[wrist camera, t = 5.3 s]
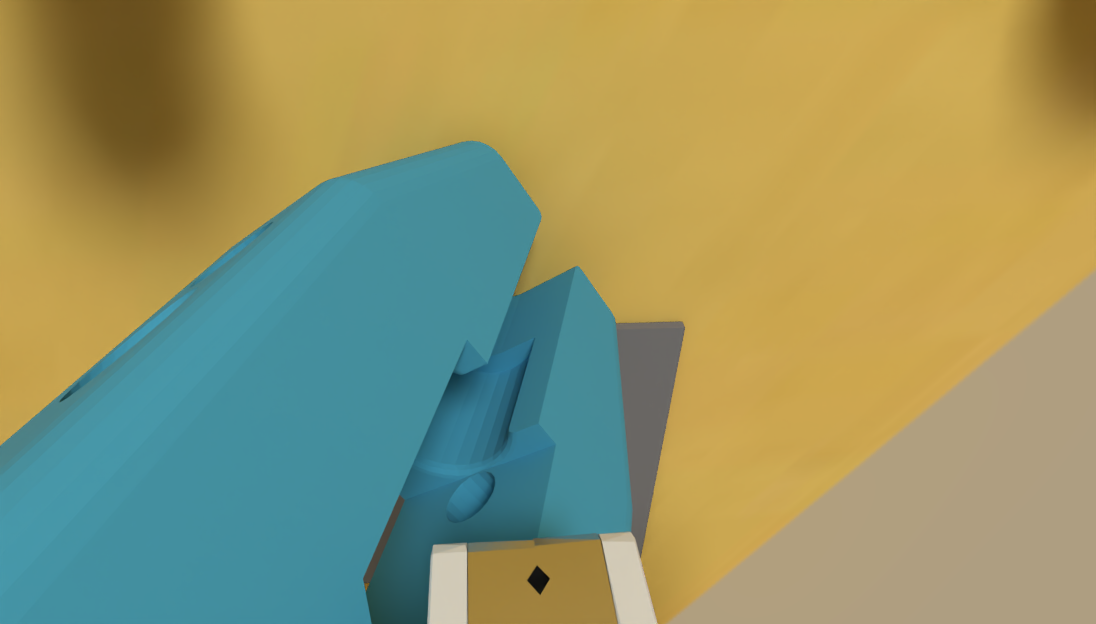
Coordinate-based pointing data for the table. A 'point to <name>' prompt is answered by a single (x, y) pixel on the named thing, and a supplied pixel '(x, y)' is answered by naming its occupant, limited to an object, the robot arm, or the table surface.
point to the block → (325, 417)
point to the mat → (626, 415)
